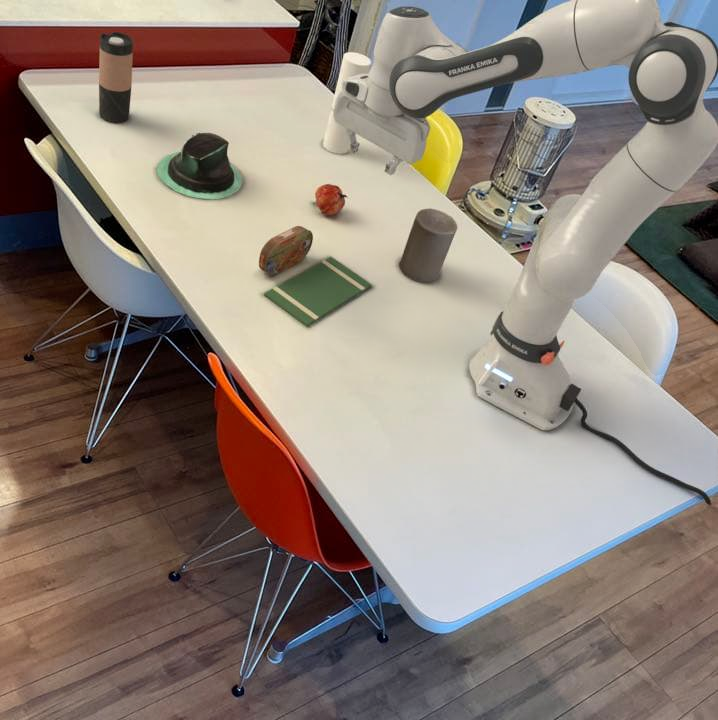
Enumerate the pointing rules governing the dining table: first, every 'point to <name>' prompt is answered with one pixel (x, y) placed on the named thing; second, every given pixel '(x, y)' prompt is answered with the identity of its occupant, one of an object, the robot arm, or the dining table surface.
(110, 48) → the travel mug
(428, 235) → the pillar candle
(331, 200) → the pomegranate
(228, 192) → the hat
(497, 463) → the dining table surface
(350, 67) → the cylindrical container
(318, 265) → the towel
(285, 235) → the tin
